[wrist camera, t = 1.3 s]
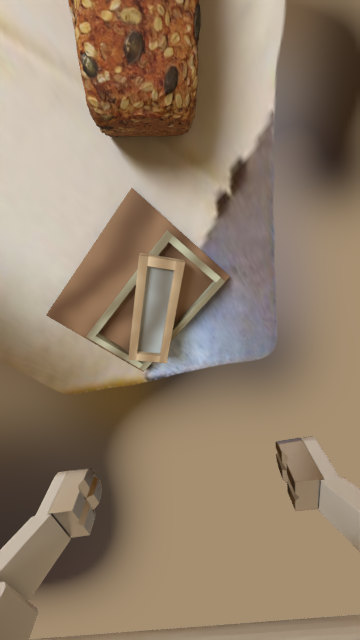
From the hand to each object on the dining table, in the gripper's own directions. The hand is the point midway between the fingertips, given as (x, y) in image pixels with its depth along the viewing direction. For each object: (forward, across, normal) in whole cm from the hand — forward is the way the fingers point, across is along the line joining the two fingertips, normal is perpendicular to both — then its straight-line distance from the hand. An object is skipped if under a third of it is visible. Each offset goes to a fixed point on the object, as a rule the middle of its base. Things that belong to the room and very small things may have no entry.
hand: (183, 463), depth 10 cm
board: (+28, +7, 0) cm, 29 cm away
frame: (+25, +4, +2) cm, 26 cm away
